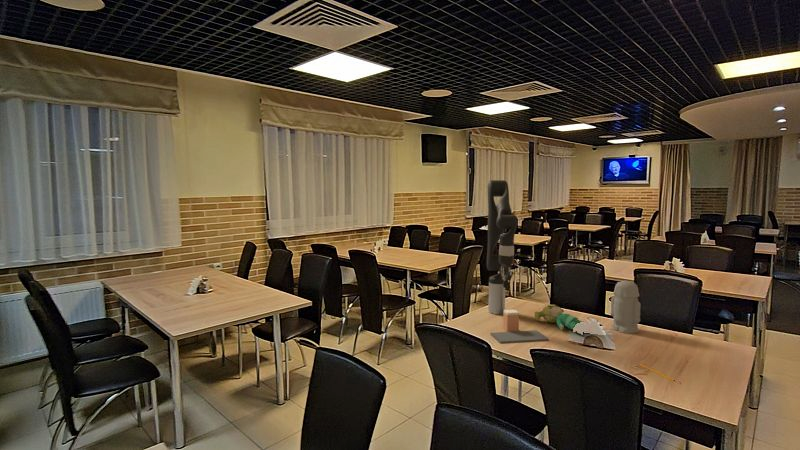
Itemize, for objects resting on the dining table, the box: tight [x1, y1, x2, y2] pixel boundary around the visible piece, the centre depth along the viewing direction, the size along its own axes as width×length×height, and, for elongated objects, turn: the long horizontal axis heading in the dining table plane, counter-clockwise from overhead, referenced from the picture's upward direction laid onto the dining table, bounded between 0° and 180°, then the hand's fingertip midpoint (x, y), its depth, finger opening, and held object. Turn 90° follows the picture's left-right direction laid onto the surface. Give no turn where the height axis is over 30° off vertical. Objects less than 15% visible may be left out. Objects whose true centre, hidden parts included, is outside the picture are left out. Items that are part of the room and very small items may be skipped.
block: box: [502, 309, 520, 332], centre depth 213 cm, size 5×6×10 cm
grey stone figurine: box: [610, 280, 642, 335], centre depth 213 cm, size 15×10×25 cm
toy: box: [534, 304, 583, 331], centre depth 219 cm, size 17×10×30 cm
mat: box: [490, 329, 549, 344], centre depth 204 cm, size 12×24×1 cm, turn 99°
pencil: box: [636, 362, 680, 382], centre depth 165 cm, size 1×19×1 cm, turn 18°
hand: (505, 287), depth 219 cm, fingers closed
